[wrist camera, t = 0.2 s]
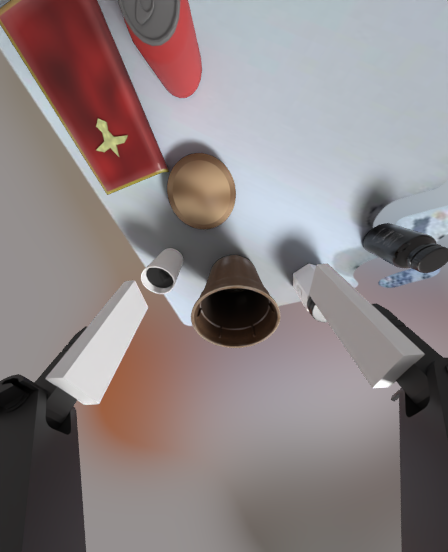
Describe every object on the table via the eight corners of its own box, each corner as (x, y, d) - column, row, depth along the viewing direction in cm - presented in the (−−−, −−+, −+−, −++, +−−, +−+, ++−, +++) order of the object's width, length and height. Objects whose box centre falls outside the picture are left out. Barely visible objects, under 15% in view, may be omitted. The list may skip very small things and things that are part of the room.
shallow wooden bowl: (163, 158, 30) (158, 156, 28) (233, 151, 30) (234, 149, 27) (178, 228, 37) (176, 231, 35) (236, 224, 37) (236, 227, 34)
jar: (291, 266, 42) (312, 295, 32) (325, 259, 41) (357, 288, 31) (292, 293, 47) (310, 326, 36) (322, 288, 46) (349, 321, 35)
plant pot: (222, 306, 50) (220, 357, 36) (189, 266, 42) (172, 310, 29) (272, 284, 45) (292, 332, 31) (245, 234, 38) (256, 269, 24)
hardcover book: (94, -11, 21) (68, -48, 18) (170, 171, 32) (163, 171, 28) (26, 36, 23) (-10, 11, 20) (118, 192, 34) (106, 194, 30)
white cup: (170, 241, 39) (155, 259, 30) (190, 260, 42) (181, 283, 33) (153, 256, 41) (133, 278, 33) (172, 274, 44) (160, 298, 35)
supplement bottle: (362, 255, 40) (408, 283, 30) (361, 230, 37) (412, 252, 27) (394, 244, 39) (454, 269, 28) (396, 217, 35) (464, 234, 25)
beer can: (149, 70, 25) (95, -3, 14) (174, 16, 22) (129, -119, 12) (185, 111, 27) (160, 73, 17) (211, 66, 24) (200, -11, 14)
